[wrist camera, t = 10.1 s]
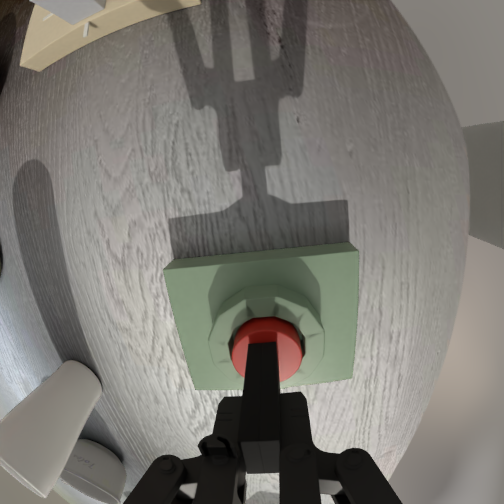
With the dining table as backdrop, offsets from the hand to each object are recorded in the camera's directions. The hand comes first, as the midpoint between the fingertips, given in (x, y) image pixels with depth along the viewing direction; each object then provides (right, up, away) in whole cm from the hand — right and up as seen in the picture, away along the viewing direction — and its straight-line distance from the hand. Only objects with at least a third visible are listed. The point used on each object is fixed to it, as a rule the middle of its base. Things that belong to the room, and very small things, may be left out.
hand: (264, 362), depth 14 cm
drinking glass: (-19, -7, +9) cm, 22 cm away
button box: (0, +1, +5) cm, 5 cm away
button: (0, +1, +2) cm, 2 cm away
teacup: (-25, -24, +14) cm, 37 cm away
